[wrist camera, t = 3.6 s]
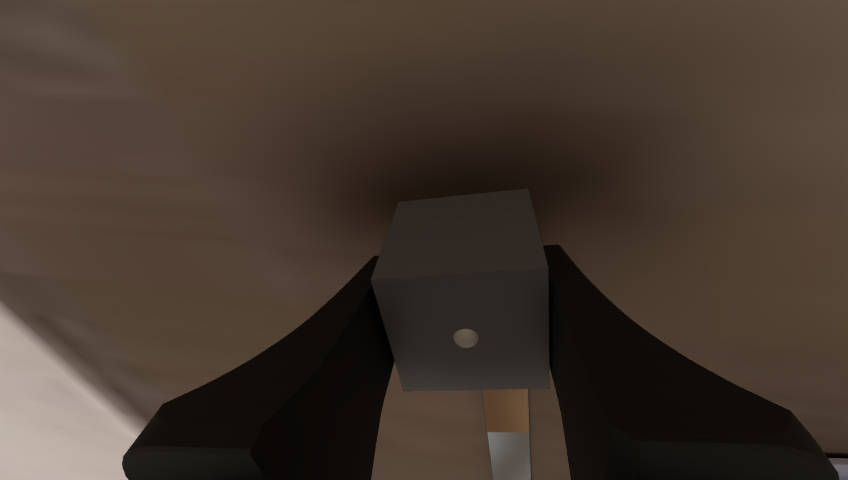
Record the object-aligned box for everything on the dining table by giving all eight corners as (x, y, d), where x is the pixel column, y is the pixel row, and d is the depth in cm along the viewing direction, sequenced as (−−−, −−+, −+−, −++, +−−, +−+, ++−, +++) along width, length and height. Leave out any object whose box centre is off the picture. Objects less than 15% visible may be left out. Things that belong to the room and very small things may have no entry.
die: (528, 188, 12) (550, 273, 8) (532, 292, 14) (550, 395, 11) (392, 202, 13) (360, 286, 9) (414, 298, 15) (395, 397, 11)
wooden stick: (523, 287, 17) (524, 296, 16) (533, 566, 32) (533, 575, 31) (471, 289, 17) (470, 298, 17) (504, 564, 32) (505, 573, 32)
